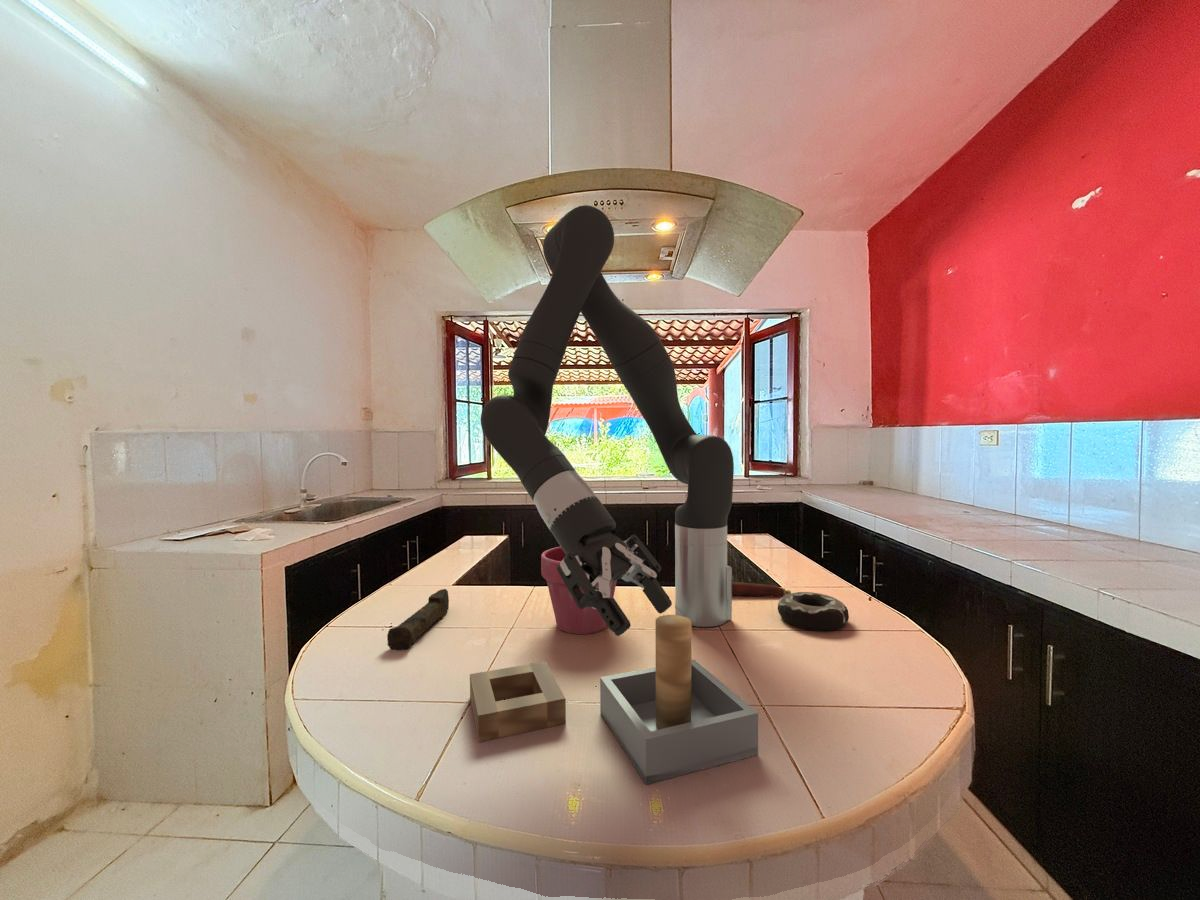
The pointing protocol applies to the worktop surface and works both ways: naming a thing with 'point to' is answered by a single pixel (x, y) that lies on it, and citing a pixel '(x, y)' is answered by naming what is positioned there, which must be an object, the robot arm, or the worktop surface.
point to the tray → (705, 742)
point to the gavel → (758, 590)
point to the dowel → (673, 671)
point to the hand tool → (418, 621)
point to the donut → (813, 611)
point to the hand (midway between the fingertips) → (646, 619)
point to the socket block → (516, 701)
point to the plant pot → (569, 598)
